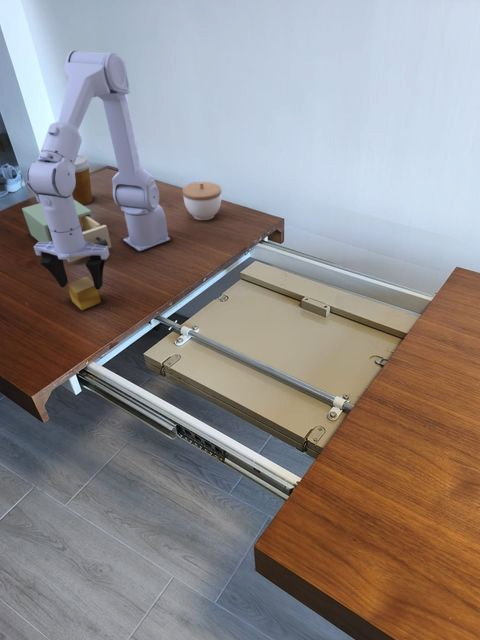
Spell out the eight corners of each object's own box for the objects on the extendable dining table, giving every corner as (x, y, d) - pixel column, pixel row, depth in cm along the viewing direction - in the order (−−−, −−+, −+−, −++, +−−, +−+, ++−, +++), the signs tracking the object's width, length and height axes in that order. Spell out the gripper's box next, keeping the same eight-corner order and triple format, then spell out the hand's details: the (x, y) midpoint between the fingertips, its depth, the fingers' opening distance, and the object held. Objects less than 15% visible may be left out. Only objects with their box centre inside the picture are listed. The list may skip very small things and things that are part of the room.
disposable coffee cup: (66, 196, 145) (55, 155, 137) (98, 193, 146) (89, 153, 139) (63, 208, 138) (52, 167, 130) (97, 205, 139) (87, 164, 132)
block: (91, 293, 104) (86, 276, 101) (101, 302, 102) (96, 284, 99) (72, 301, 102) (66, 284, 99) (81, 310, 100) (76, 292, 97)
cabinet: (97, 237, 124) (91, 210, 120) (52, 253, 118) (43, 225, 113) (74, 220, 132) (67, 195, 127) (30, 234, 125) (21, 208, 121)
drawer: (120, 253, 116) (115, 232, 113) (78, 269, 111) (71, 247, 107) (88, 230, 126) (83, 210, 122) (47, 244, 120) (40, 223, 116)
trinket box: (194, 227, 129) (190, 193, 123) (179, 212, 136) (175, 180, 130) (229, 218, 133) (227, 186, 127) (213, 204, 140) (211, 173, 134)
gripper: (18, 233, 88) (40, 294, 97) (93, 237, 87) (108, 298, 96) (35, 216, 93) (55, 275, 102) (106, 220, 92) (120, 280, 101)
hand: (81, 285), depth 99 cm, fingers open, 7 cm apart
